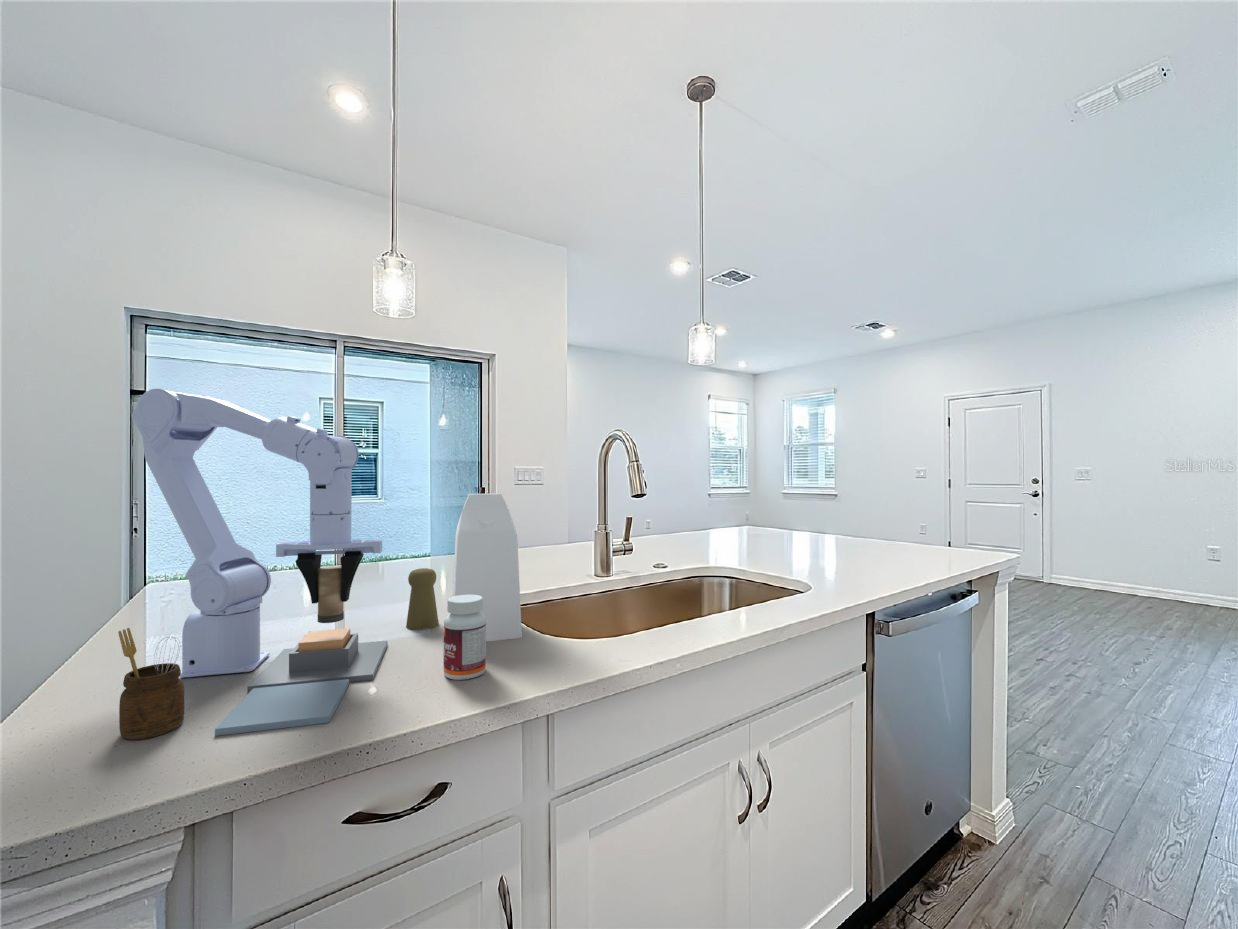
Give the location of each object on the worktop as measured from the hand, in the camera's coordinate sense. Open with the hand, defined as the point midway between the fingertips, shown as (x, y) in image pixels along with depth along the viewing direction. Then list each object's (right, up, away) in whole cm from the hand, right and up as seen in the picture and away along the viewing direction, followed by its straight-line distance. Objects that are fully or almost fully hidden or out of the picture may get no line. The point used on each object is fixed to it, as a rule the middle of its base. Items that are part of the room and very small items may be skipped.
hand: (330, 601), depth 85 cm
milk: (+20, -11, +18) cm, 29 cm away
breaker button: (-1, -7, +1) cm, 8 cm away
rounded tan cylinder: (0, -3, 0) cm, 3 cm away
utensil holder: (-11, -11, -20) cm, 25 cm away
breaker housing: (-1, -10, +1) cm, 10 cm away
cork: (+6, -11, +23) cm, 26 cm away
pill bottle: (+22, -11, -2) cm, 24 cm away
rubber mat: (+2, -10, -14) cm, 17 cm away
